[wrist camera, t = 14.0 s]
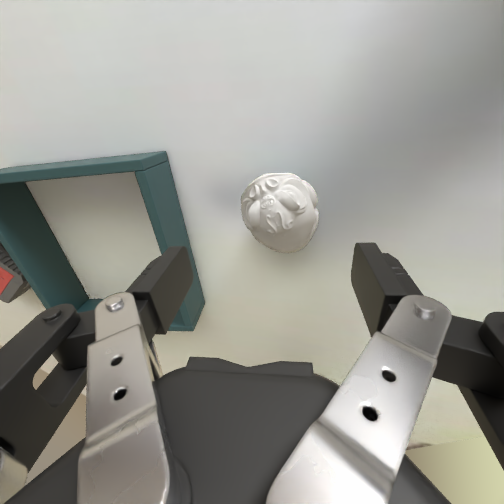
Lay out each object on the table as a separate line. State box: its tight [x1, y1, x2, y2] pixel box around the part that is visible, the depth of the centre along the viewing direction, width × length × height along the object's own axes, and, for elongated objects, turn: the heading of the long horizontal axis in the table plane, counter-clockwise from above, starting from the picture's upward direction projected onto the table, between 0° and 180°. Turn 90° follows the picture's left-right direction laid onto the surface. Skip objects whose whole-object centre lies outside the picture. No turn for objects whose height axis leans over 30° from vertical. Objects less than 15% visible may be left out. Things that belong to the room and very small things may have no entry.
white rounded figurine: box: [241, 173, 319, 253], centre depth 20 cm, size 6×7×7 cm
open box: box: [0, 151, 205, 331], centre depth 25 cm, size 18×17×4 cm
